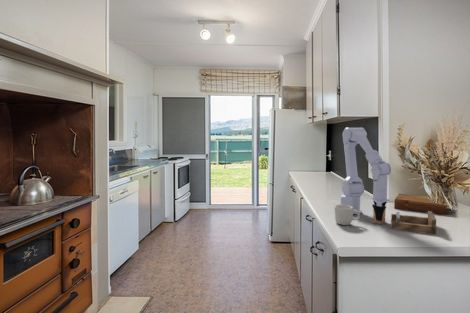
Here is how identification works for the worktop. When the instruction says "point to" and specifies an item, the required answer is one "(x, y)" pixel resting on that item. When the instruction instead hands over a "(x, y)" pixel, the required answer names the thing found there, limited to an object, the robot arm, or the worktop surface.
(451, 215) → the worktop surface
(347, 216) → the cup
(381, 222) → the jar
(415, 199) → the brown wooden flat block
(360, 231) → the worktop surface
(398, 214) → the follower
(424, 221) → the brown wooden frame
